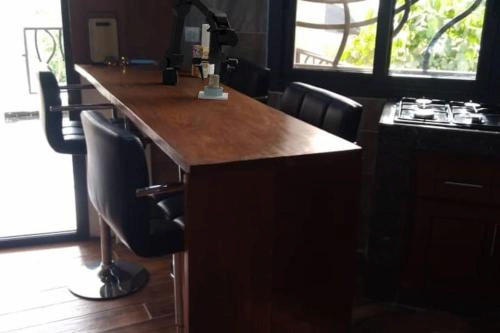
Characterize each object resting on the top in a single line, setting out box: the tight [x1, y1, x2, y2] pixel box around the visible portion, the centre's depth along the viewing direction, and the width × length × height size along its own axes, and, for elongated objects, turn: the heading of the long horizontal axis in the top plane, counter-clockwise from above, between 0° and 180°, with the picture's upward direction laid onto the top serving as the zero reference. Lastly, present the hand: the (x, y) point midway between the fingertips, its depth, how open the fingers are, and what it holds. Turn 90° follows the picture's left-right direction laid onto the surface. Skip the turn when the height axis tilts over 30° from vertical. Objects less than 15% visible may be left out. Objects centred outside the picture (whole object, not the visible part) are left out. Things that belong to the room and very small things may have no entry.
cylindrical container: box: [201, 23, 215, 75], centre depth 291 cm, size 7×7×25 cm
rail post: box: [208, 74, 220, 89], centre depth 230 cm, size 4×4×8 cm
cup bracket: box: [197, 85, 229, 101], centre depth 231 cm, size 12×12×4 cm
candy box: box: [191, 44, 209, 79], centre depth 279 cm, size 9×4×15 cm, turn 39°
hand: (214, 82), depth 230 cm, fingers open, 9 cm apart
